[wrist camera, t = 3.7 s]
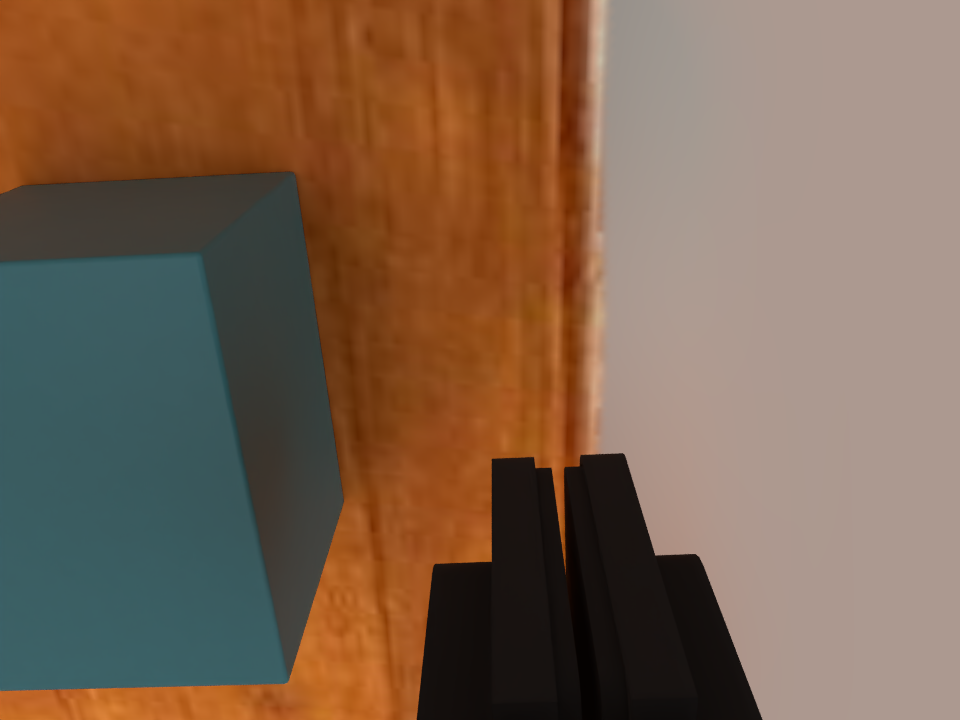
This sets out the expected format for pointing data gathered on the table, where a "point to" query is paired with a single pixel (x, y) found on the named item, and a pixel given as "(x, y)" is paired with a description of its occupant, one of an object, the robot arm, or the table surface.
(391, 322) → the table surface
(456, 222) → the table surface
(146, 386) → the box
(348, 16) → the table surface
